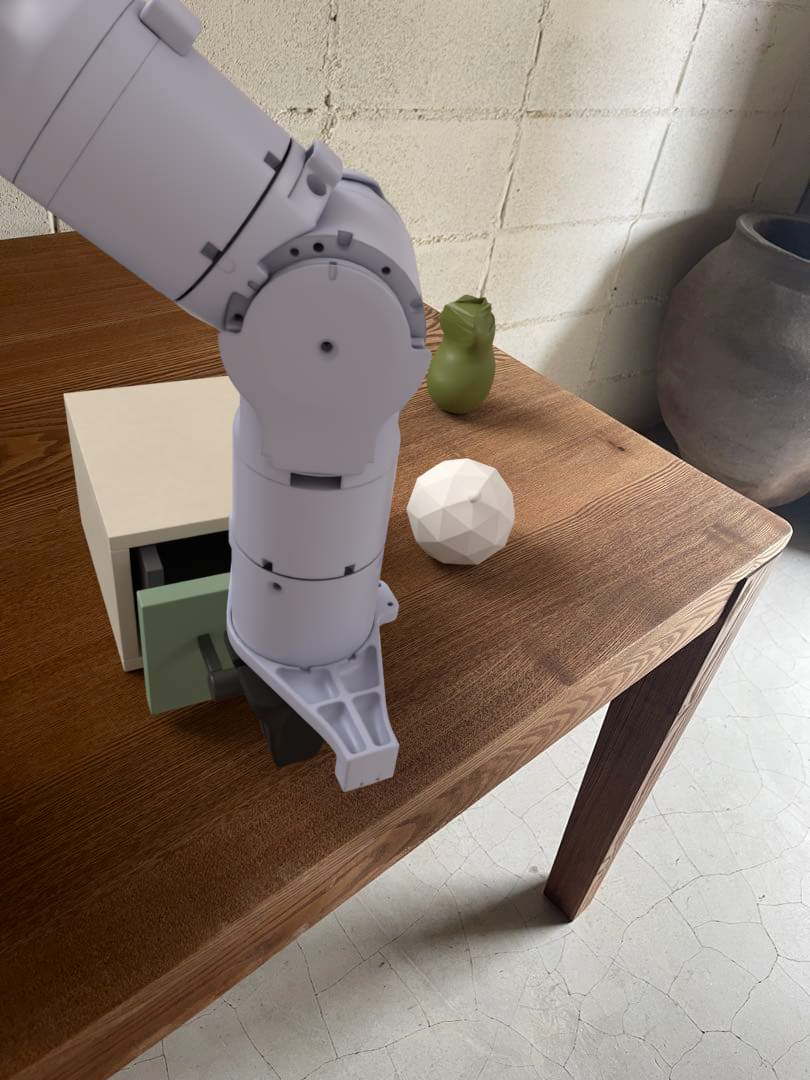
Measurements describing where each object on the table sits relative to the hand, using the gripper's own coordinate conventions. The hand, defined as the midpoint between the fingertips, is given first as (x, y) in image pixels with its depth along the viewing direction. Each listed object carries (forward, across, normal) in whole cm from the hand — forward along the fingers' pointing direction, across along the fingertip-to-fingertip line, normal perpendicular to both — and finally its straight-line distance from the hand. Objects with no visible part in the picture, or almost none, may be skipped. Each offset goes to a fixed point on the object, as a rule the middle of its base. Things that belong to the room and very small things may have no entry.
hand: (292, 750), depth 41 cm
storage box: (+4, +18, 0) cm, 18 cm away
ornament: (+4, +15, -17) cm, 23 cm away
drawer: (+3, +11, 0) cm, 11 cm away
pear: (+4, +32, -26) cm, 41 cm away
